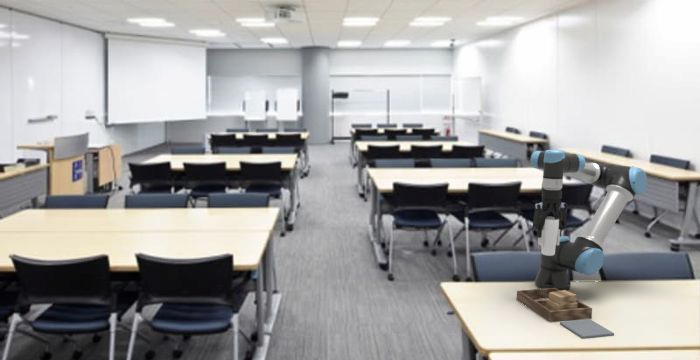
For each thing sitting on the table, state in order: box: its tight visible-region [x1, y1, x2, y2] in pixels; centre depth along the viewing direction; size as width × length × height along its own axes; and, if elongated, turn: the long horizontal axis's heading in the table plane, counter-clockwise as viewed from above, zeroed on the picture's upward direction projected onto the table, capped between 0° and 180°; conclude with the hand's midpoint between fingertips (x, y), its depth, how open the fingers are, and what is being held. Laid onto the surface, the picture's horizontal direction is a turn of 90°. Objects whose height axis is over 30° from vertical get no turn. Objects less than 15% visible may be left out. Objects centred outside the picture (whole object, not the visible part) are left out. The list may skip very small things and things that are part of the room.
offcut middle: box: [545, 298, 578, 311], centre depth 215 cm, size 9×7×3 cm
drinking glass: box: [540, 216, 559, 256], centre depth 222 cm, size 7×7×15 cm
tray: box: [516, 288, 593, 323], centre depth 221 cm, size 18×24×4 cm
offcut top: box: [548, 290, 577, 305], centre depth 214 cm, size 8×6×3 cm
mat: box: [559, 318, 615, 340], centre depth 201 cm, size 13×13×1 cm
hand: (548, 244), depth 223 cm, fingers closed on drinking glass, 6 cm apart
